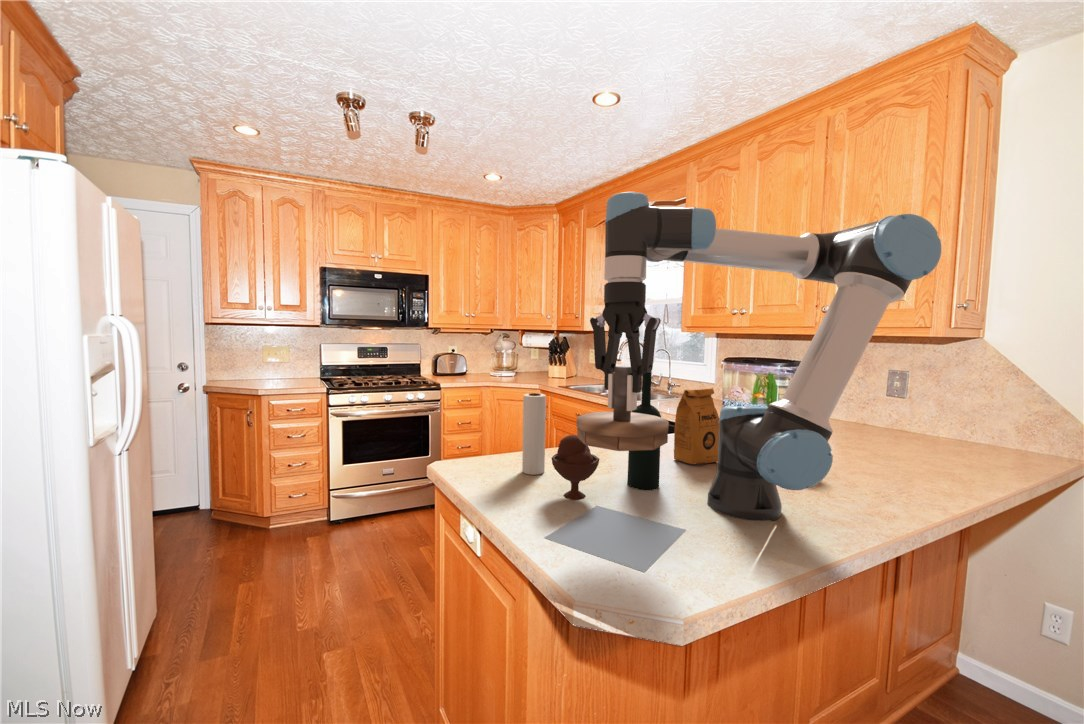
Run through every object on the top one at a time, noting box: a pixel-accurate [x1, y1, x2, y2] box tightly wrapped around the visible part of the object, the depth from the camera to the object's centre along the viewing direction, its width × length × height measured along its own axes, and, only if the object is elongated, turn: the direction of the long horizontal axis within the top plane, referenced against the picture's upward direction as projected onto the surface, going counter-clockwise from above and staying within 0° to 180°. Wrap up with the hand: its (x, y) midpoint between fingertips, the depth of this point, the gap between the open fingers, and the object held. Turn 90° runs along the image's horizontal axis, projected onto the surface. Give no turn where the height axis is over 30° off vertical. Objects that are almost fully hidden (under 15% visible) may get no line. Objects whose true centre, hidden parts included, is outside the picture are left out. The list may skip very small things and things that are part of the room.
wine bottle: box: [626, 371, 662, 491], centre depth 119 cm, size 8×10×30 cm
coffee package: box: [673, 387, 720, 465], centre depth 140 cm, size 10×12×22 cm
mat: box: [543, 505, 687, 573], centre depth 90 cm, size 20×20×1 cm
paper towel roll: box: [521, 392, 547, 476], centre depth 128 cm, size 7×6×21 cm
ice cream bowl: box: [551, 434, 600, 501], centre depth 109 cm, size 11×11×15 cm
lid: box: [575, 365, 670, 452], centre depth 88 cm, size 17×17×14 cm
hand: (622, 408), depth 88 cm, fingers closed on lid, 3 cm apart
